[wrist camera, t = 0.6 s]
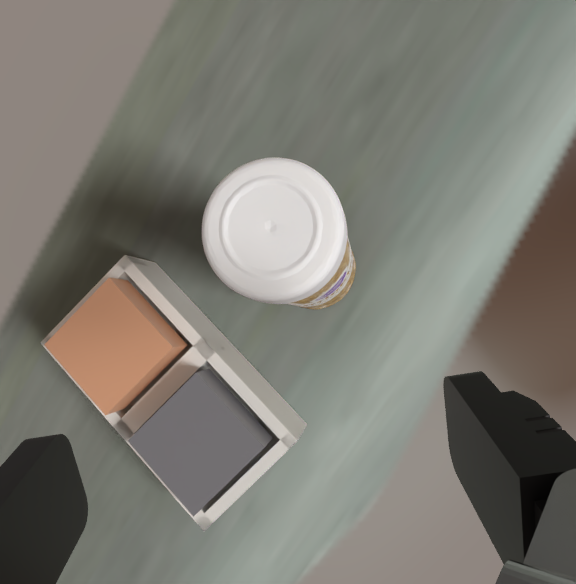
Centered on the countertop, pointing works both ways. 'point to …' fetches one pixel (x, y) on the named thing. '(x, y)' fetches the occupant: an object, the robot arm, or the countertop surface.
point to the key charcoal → (200, 440)
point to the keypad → (193, 358)
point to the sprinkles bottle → (279, 235)
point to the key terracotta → (115, 345)
